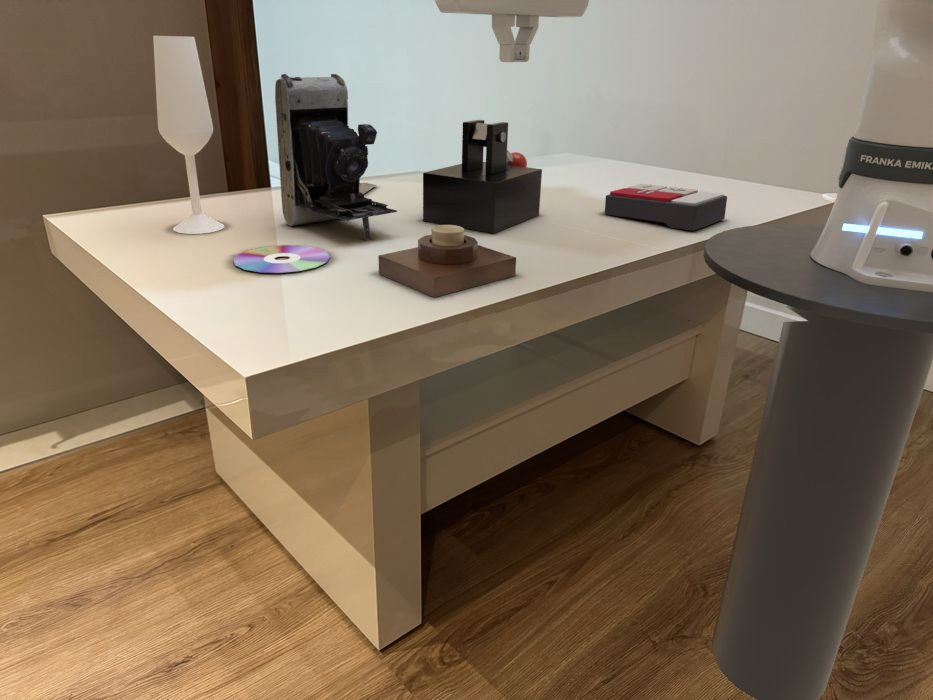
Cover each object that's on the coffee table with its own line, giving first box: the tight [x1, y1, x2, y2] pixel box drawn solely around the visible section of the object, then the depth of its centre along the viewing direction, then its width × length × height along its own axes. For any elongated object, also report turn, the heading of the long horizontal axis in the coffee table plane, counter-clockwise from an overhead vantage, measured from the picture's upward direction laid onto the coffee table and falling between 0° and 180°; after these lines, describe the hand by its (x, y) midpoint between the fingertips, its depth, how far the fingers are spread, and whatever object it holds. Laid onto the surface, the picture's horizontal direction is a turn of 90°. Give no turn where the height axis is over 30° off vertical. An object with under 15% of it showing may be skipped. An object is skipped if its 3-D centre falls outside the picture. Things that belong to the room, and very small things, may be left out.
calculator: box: [604, 183, 728, 232], centre depth 108 cm, size 11×4×15 cm
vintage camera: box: [274, 73, 398, 241], centre depth 93 cm, size 10×15×20 cm, turn 42°
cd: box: [232, 244, 331, 274], centre depth 84 cm, size 11×11×1 cm
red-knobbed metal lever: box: [472, 122, 528, 167], centre depth 106 cm, size 14×4×4 cm, turn 147°
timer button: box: [431, 224, 465, 246], centre depth 78 cm, size 4×4×2 cm
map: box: [359, 182, 377, 195], centre depth 117 cm, size 5×20×1 cm, turn 169°
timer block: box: [377, 233, 517, 298], centre depth 79 cm, size 12×10×4 cm
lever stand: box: [422, 119, 543, 235], centre depth 103 cm, size 14×12×14 cm
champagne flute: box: [152, 35, 225, 235], centre depth 92 cm, size 7×7×24 cm
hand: (514, 62), depth 77 cm, fingers closed
